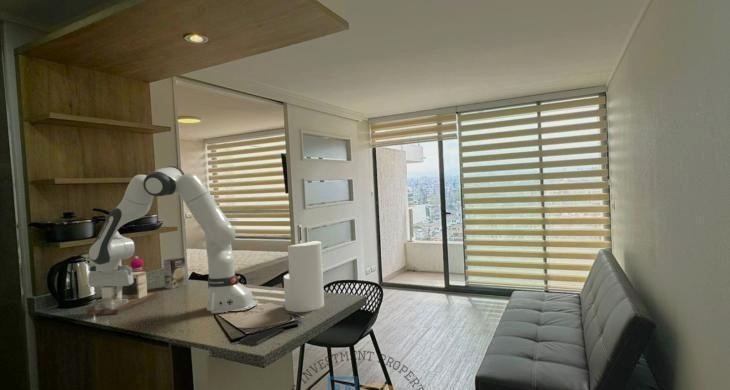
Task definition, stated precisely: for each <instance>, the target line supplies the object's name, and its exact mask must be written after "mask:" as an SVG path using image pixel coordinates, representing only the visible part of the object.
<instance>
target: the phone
mask: <svg viewBox="0 0 730 390" xmlns="http://www.w3.org/2000/svg"><path fill="white" fill-rule="evenodd" d="M284 330H285V329H284V328H281V327H276V328H274V329H271V330H268V331H264V332H261V333H257V334H254V333H253V334H254V335H251V334H250V335H248V336H246V337H243V338H241V339H240V340H239V343H240V344H244V345H246V346H250V347H251V346H252V347H255V346H259V345H261V344H262V343H265V342H267V341H268V340H270V339H272V338H274V337H276V336H278V335H280V334H282V333H284Z"/></svg>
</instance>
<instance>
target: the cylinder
mask: <svg viewBox="0 0 730 390" xmlns="http://www.w3.org/2000/svg"><path fill="white" fill-rule="evenodd" d="M322 249H323V247H322V241H320V240H313V241H309V242H307V241H306V242H302V243H297V244H292V245H287V256H288V257H287V259H288V260H287V261H288V262H287V263H288V273H286V274H285V275H283V291H284V293H283V294H284V310H285V311H288V312H291V311H292V312H293V313H306V312H312V311H317V310H319V309H322V308H323V307H324V306H325V291H324V274H323V273H324V271H323V269H324V268H323V250H322Z"/></svg>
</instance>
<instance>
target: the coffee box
mask: <svg viewBox="0 0 730 390" xmlns="http://www.w3.org/2000/svg"><path fill="white" fill-rule="evenodd" d="M163 266H164V267H163V268H164V269H163V271H164V272H163V273H164V275H163V276H164V289H170V290H171V289H172V290H174V289H177V288H180V287H184V286H186V259H185V257H174V258H169V259H164V260H163Z"/></svg>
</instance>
